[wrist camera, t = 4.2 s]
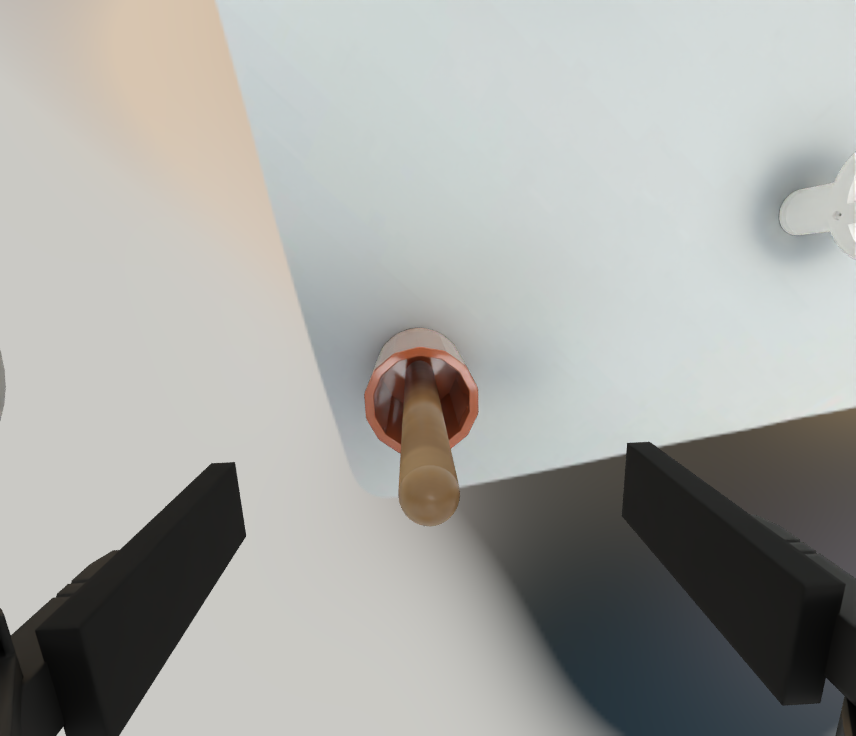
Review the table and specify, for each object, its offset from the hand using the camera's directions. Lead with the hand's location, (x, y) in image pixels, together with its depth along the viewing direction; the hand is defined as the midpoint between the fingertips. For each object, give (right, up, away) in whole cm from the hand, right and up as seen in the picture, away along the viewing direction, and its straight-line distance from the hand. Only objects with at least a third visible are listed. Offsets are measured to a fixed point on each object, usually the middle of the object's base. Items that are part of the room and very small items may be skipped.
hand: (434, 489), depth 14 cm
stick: (-1, +4, +16) cm, 17 cm away
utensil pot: (-1, +4, +17) cm, 17 cm away
